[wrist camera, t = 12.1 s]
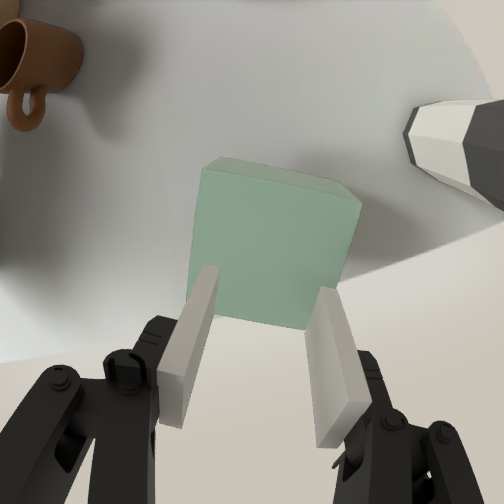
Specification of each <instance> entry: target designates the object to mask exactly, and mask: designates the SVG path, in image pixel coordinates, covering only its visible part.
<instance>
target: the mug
mask: <svg viewBox="0 0 504 504" xmlns="http://www.w3.org/2000/svg"><path fill="white" fill-rule="evenodd" d="M82 55H83V49H82V44H81V41H80V39H79V38H78V36H77V35H75V34H74V33H72V32H70V31H68V30H65V29H62V28H59V27H56V26H53V25H50V24H46V23H43V22H39V21H36V20H31V19H23V18H15V19H12V20H9V21H8V22H6V23H5V24H3V25H2V26H1V27H0V93H2V94H9V96H8V102H7V108H6V109H7V115H8V119H9V121H10V123H11V125H12V126H13V127H14V128H15V129H16V130H19V131H21V132H28V131H31V130H33V129H35V128H36V127H37V126H38V125H39V124H40V123H41V121H42V119H43V117H44V114H45V96H46V93H53V92H56V91H59V90H61V89H62V88H64V87H65V86H66V85H67V84H68V83H69V82H70V81H71V80H72V79H73V78H74V76H75V75H76V73H77V71H78V69H79V67H80V64H81V61H82ZM24 93H31V94H30V99H29V104H30V114H29V115H28V116H26V115H25V114H24V112H23V109H22V103H23V96H24Z"/></svg>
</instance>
